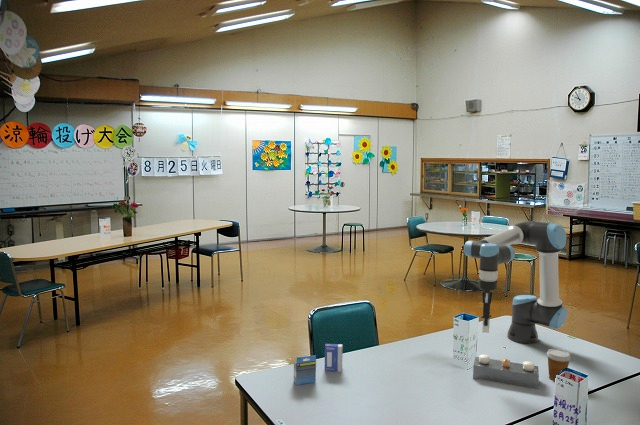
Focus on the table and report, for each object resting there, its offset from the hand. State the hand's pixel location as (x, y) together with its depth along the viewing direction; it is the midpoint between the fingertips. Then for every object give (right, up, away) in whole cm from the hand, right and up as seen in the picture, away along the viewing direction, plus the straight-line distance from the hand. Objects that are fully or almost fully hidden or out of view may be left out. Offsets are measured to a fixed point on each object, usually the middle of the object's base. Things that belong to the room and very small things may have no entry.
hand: (485, 331), depth 216 cm
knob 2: (+16, -20, -5) cm, 26 cm away
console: (+8, -20, -1) cm, 22 cm away
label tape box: (-79, -20, -6) cm, 82 cm away
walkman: (-67, -19, +7) cm, 69 cm away
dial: (+8, -14, -2) cm, 17 cm away
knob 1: (0, -19, +2) cm, 19 cm away
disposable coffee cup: (+31, -21, -1) cm, 37 cm away
